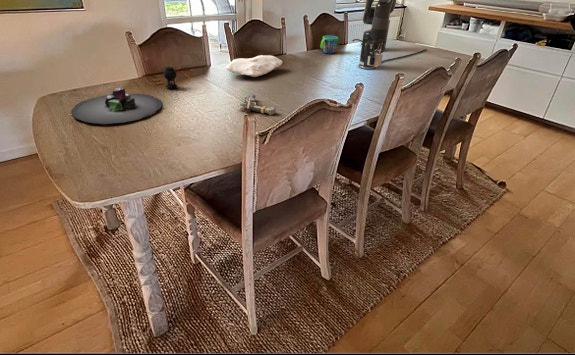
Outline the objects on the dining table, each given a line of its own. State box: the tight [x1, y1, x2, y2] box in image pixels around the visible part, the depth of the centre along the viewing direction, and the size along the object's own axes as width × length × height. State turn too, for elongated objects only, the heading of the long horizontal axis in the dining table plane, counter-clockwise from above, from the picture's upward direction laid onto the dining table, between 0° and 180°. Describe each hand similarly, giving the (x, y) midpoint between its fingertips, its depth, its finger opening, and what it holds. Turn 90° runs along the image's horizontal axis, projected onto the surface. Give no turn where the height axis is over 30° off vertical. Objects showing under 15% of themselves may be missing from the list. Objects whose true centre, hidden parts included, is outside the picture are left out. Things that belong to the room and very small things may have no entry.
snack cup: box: [319, 34, 340, 55], centre depth 242 cm, size 16×10×10 cm
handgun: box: [239, 93, 277, 116], centre depth 158 cm, size 3×18×15 cm
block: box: [367, 53, 384, 68], centre depth 178 cm, size 5×5×5 cm
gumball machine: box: [161, 66, 179, 90], centre depth 173 cm, size 7×6×10 cm
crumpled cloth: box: [225, 54, 283, 78], centre depth 198 cm, size 24×35×9 cm
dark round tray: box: [70, 86, 163, 125], centre depth 150 cm, size 35×35×9 cm
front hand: (374, 63), depth 179 cm, fingers closed on block, 5 cm apart
